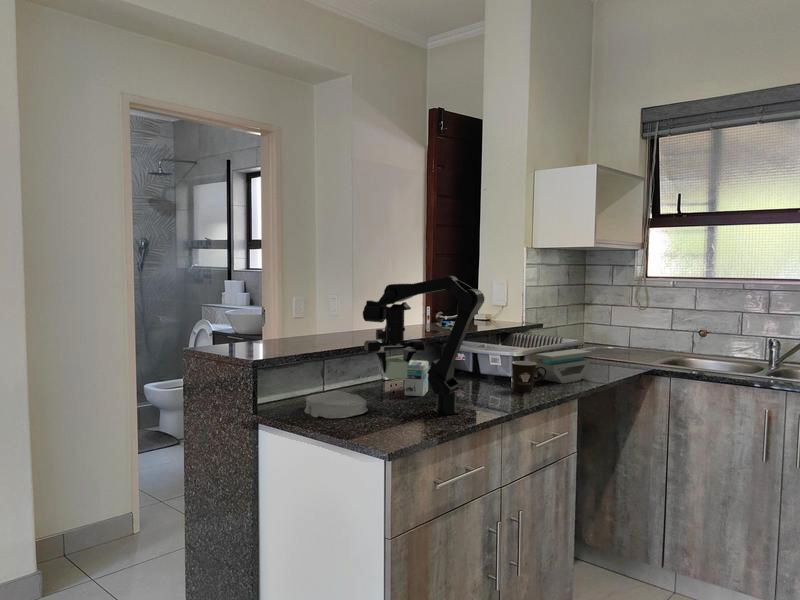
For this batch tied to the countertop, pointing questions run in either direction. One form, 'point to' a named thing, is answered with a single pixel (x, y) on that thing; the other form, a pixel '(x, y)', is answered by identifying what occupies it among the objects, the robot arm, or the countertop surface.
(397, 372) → the crate
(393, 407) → the countertop surface
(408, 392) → the light bulb box
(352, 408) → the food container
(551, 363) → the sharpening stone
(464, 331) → the robot arm
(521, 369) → the coffee mug
